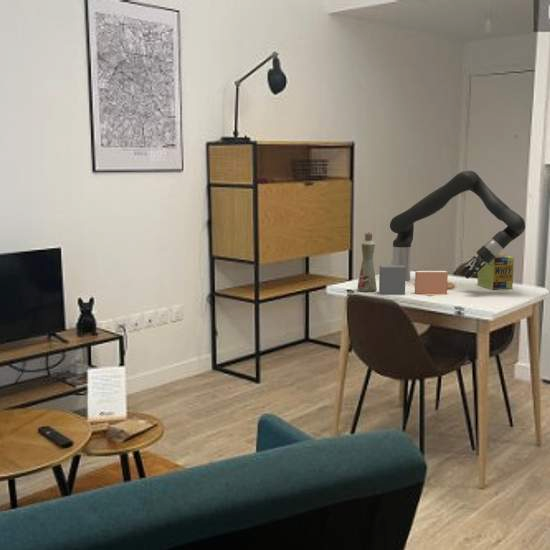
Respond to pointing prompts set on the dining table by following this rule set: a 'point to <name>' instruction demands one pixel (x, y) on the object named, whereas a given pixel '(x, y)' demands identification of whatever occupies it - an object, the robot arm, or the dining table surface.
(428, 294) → the mat
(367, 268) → the bottle
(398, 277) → the block
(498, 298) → the dining table surface
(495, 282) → the protein box
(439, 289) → the book
